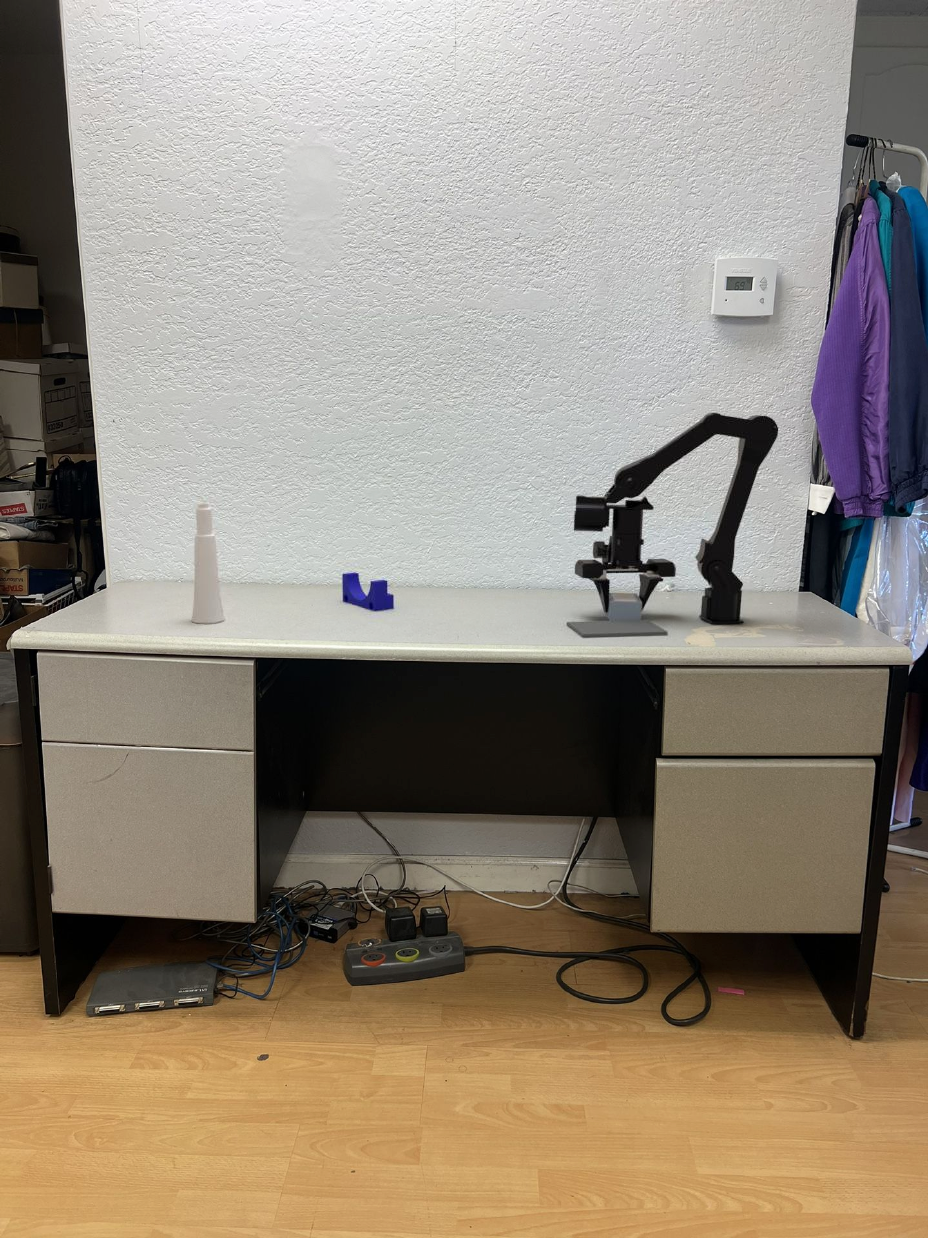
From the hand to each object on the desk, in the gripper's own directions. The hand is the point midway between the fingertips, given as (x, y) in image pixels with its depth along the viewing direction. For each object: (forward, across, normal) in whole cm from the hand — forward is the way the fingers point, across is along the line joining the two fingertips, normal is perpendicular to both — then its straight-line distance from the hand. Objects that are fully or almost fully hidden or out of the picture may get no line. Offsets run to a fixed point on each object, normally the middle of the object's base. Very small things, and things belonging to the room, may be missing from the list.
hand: (622, 612), depth 195 cm
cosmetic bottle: (+1, +79, -6) cm, 79 cm away
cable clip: (+2, +48, -18) cm, 51 cm away
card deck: (+1, 0, 0) cm, 1 cm away
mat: (+1, +5, +10) cm, 12 cm away
